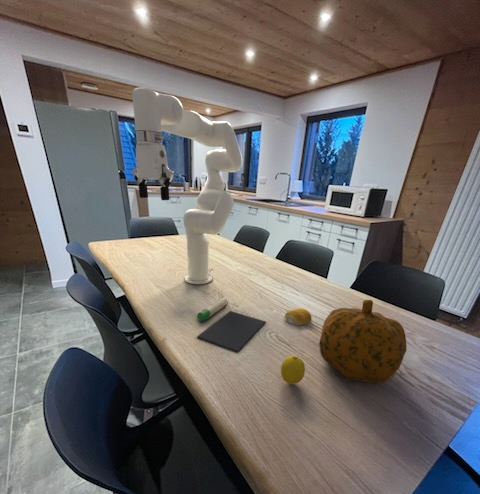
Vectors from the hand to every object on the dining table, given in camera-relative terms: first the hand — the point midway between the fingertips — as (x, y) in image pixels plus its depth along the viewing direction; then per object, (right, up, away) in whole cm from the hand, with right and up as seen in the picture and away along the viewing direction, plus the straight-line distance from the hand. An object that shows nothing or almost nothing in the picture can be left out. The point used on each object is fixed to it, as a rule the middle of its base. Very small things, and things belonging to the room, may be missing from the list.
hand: (154, 198), depth 89 cm
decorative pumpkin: (+60, -53, -18) cm, 82 cm away
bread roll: (+49, -41, +5) cm, 65 cm away
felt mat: (+27, -44, -3) cm, 52 cm away
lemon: (+41, -55, -24) cm, 73 cm away
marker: (+19, -39, +6) cm, 44 cm away
